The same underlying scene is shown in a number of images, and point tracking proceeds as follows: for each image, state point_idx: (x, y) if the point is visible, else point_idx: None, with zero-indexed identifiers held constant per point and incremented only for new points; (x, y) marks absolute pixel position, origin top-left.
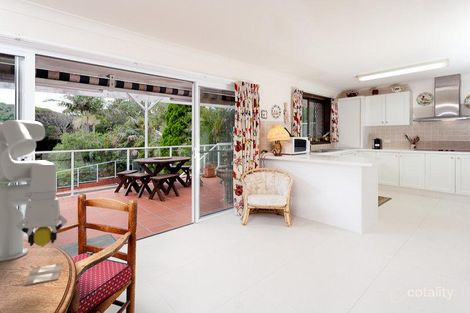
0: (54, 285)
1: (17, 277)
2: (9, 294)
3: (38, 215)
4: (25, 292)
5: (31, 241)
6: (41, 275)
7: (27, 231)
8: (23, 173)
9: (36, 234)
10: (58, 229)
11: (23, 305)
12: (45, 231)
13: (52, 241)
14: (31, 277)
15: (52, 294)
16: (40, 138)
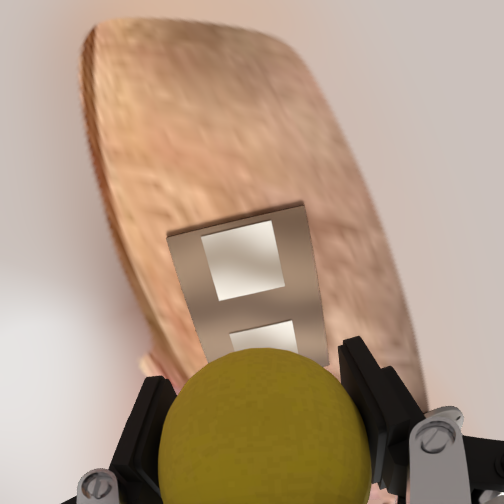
0: (160, 182)
1: (363, 297)
2: (330, 143)
3: None
4: (268, 142)
5: (361, 366)
6: (263, 289)
7: (463, 462)
8: None
9: (326, 445)
10: (74, 499)
11: (224, 41)
12: (192, 495)
13: (148, 387)
14: (302, 279)
15: (138, 103)
16: None
